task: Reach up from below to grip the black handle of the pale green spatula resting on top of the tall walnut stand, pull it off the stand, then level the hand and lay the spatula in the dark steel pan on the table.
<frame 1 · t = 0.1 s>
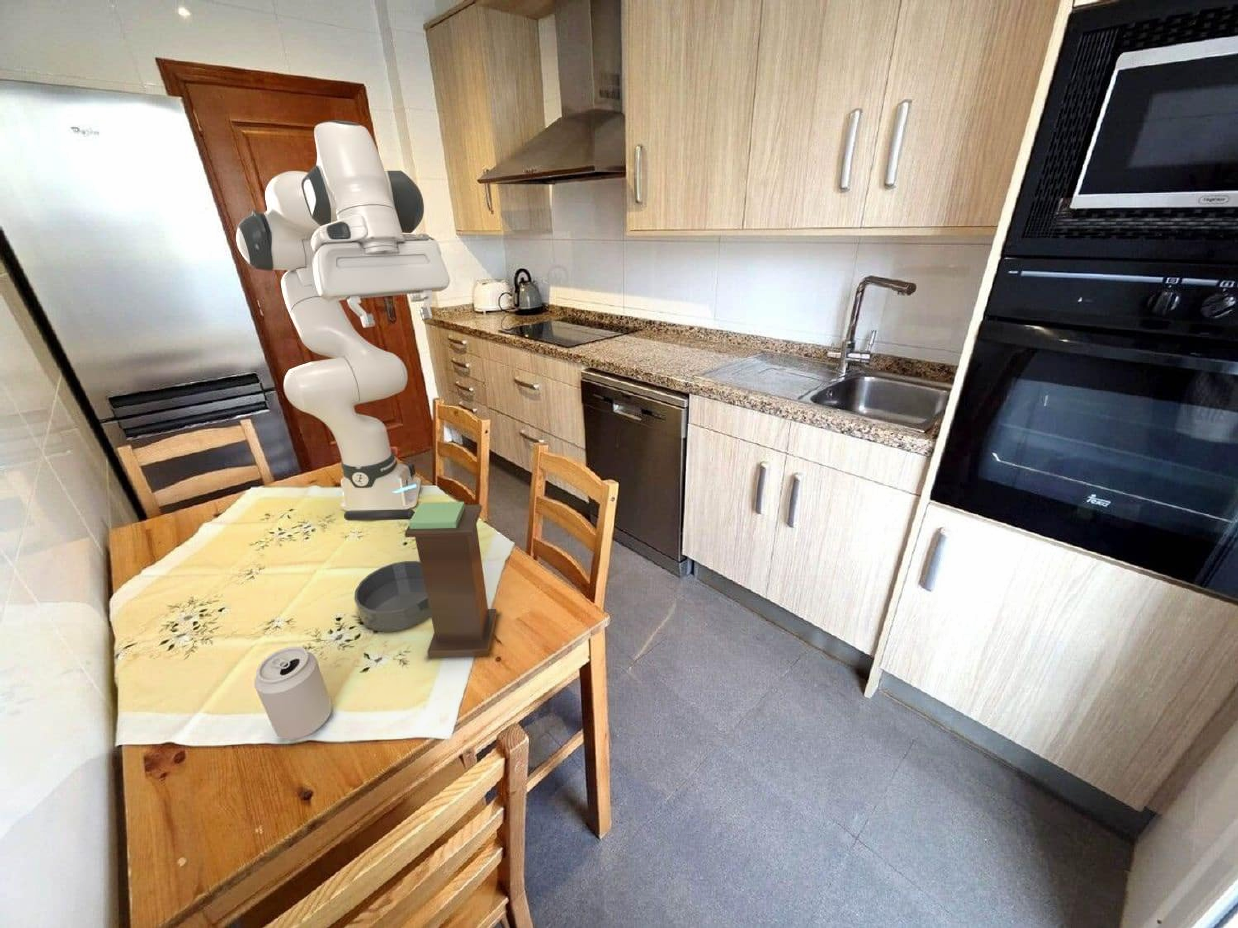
hand: (399, 323, 83), 52 cm above the table, tool tilted 20°, fingers open, 8 cm apart
pan: (402, 603, 98), on the table
stand: (464, 635, 90), on the table
can: (305, 720, 75), on the table
spatula: (415, 518, 79), point 25 cm above the table, touching stand
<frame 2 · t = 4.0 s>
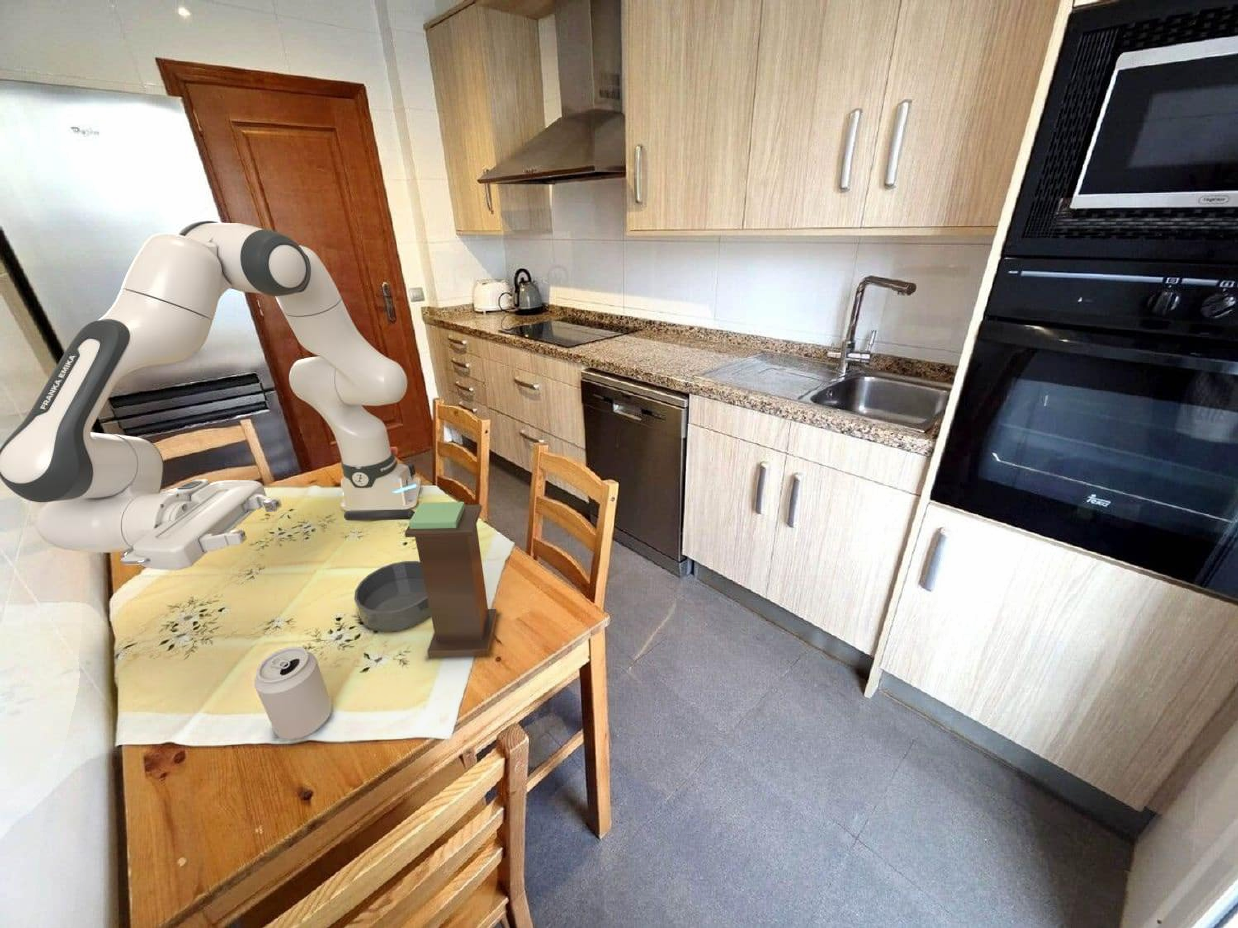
hand: (261, 520, 78), 25 cm above the table, tool horizontal, fingers open, 8 cm apart
nothing on the table moved.
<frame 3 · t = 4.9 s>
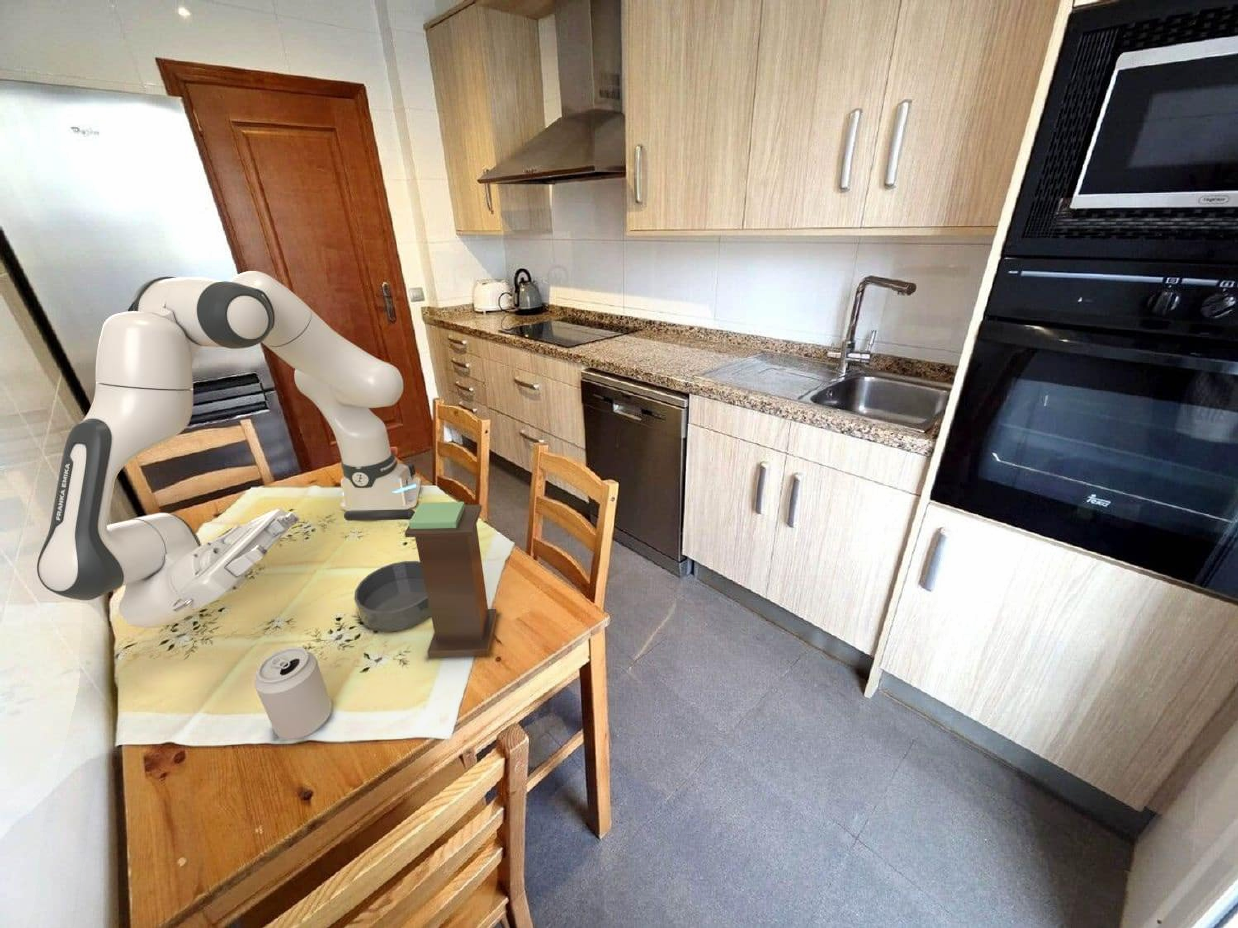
hand: (279, 533, 79), 23 cm above the table, tool pointing upward, fingers open, 8 cm apart
nothing on the table moved.
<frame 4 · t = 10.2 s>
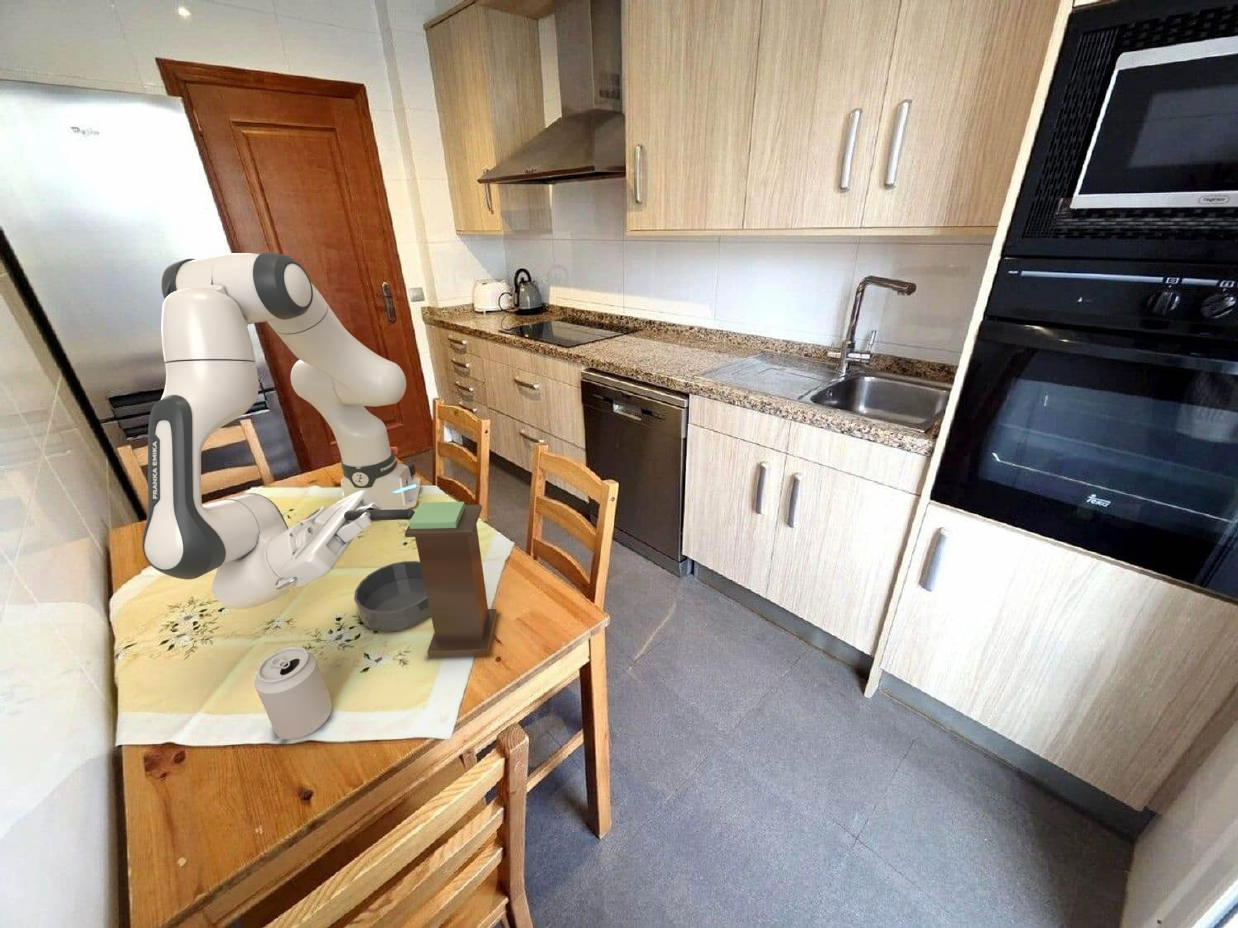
hand: (373, 512, 78), 26 cm above the table, tool pointing upward, fingers closed on spatula, 1 cm apart
spatula: (415, 518, 79), point 25 cm above the table, touching gripper, stand
everything else where it was.
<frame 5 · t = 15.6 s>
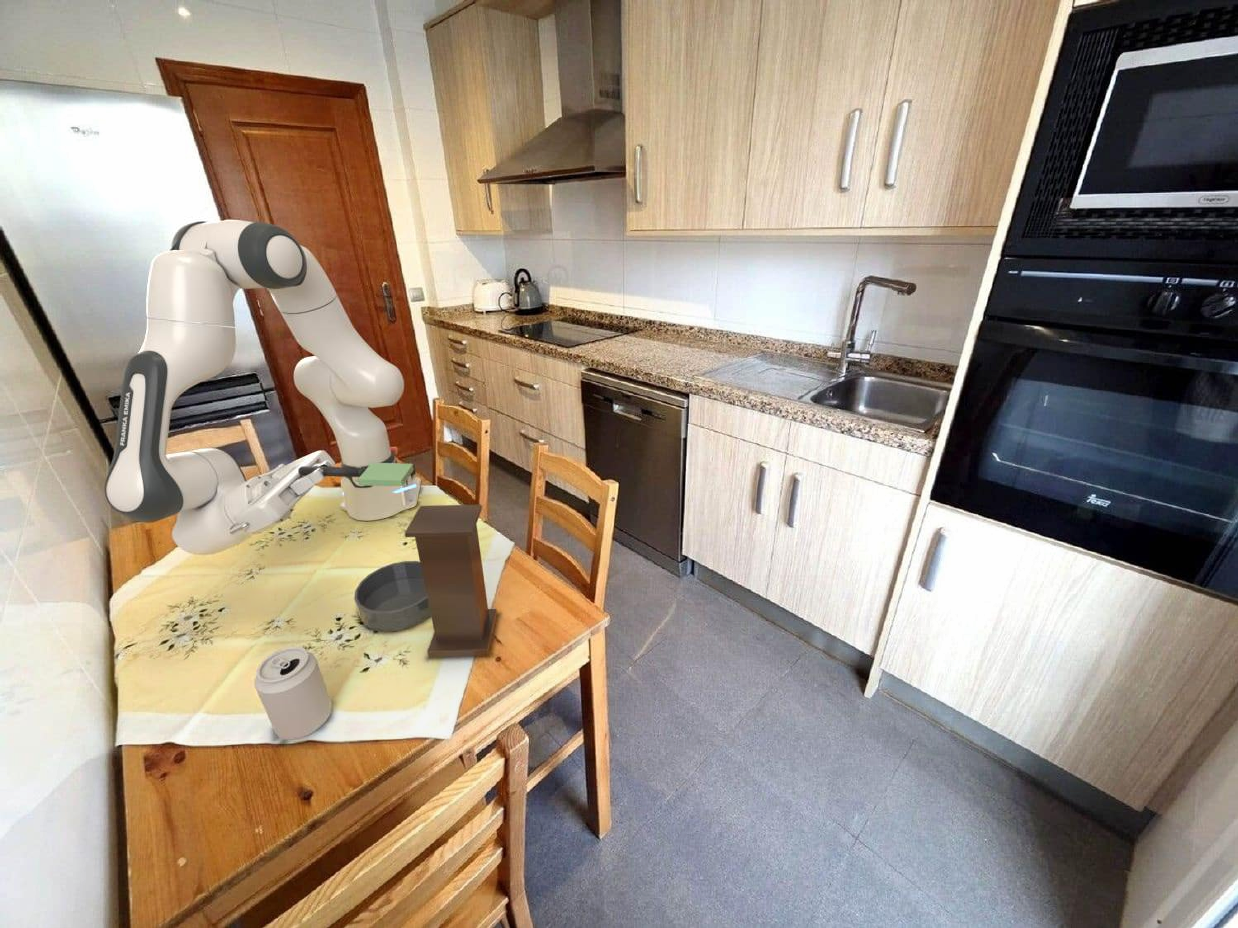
hand: (326, 469, 84), 29 cm above the table, tool pointing upward, fingers closed on spatula
spatula: (366, 476, 85), point 28 cm above the table, touching gripper
everything else where it was.
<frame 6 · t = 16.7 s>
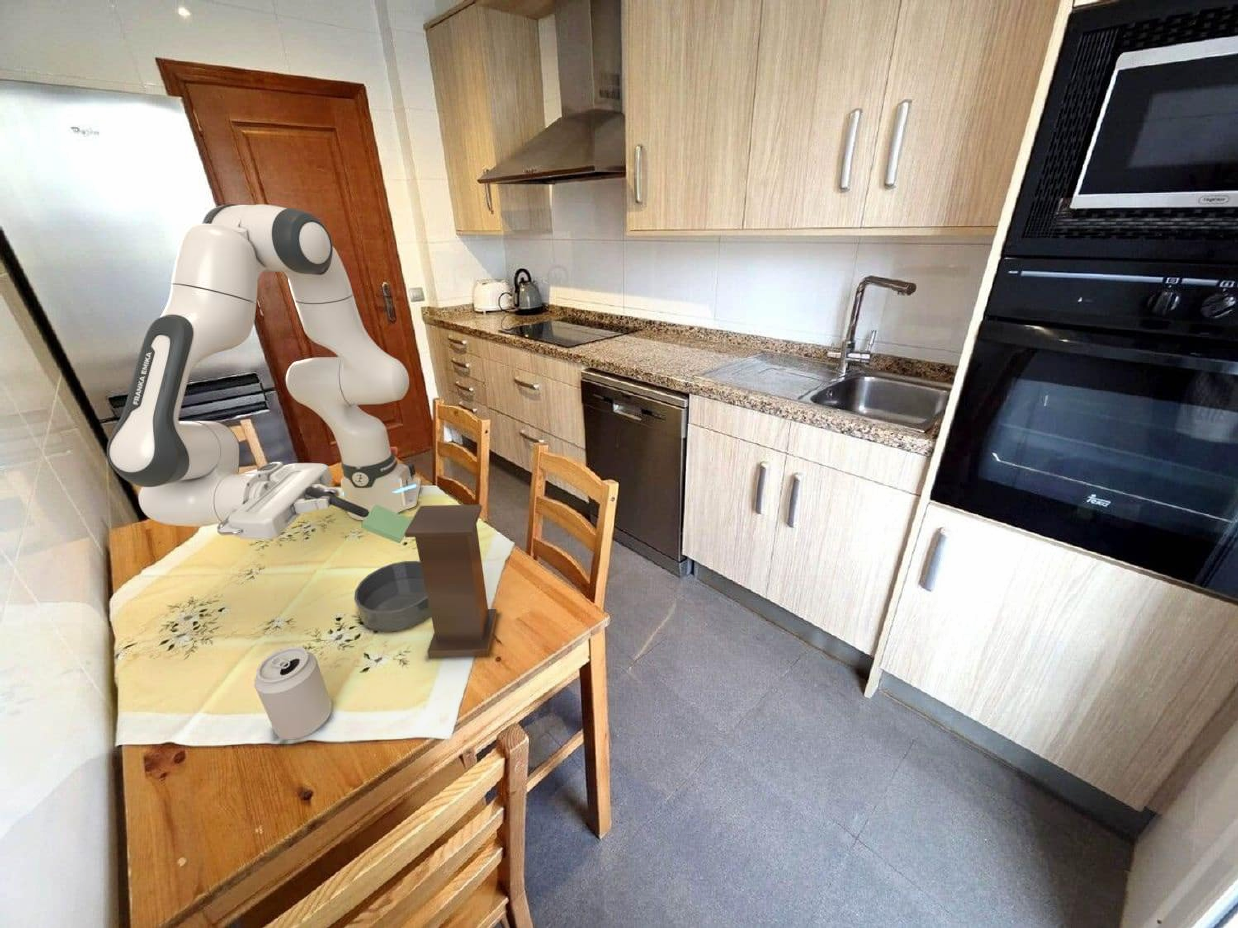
hand: (333, 497, 87), 24 cm above the table, tool horizontal, fingers closed on spatula, 1 cm apart
spatula: (367, 518, 89), point 20 cm above the table, tilted 30°, touching gripper
everything else where it was.
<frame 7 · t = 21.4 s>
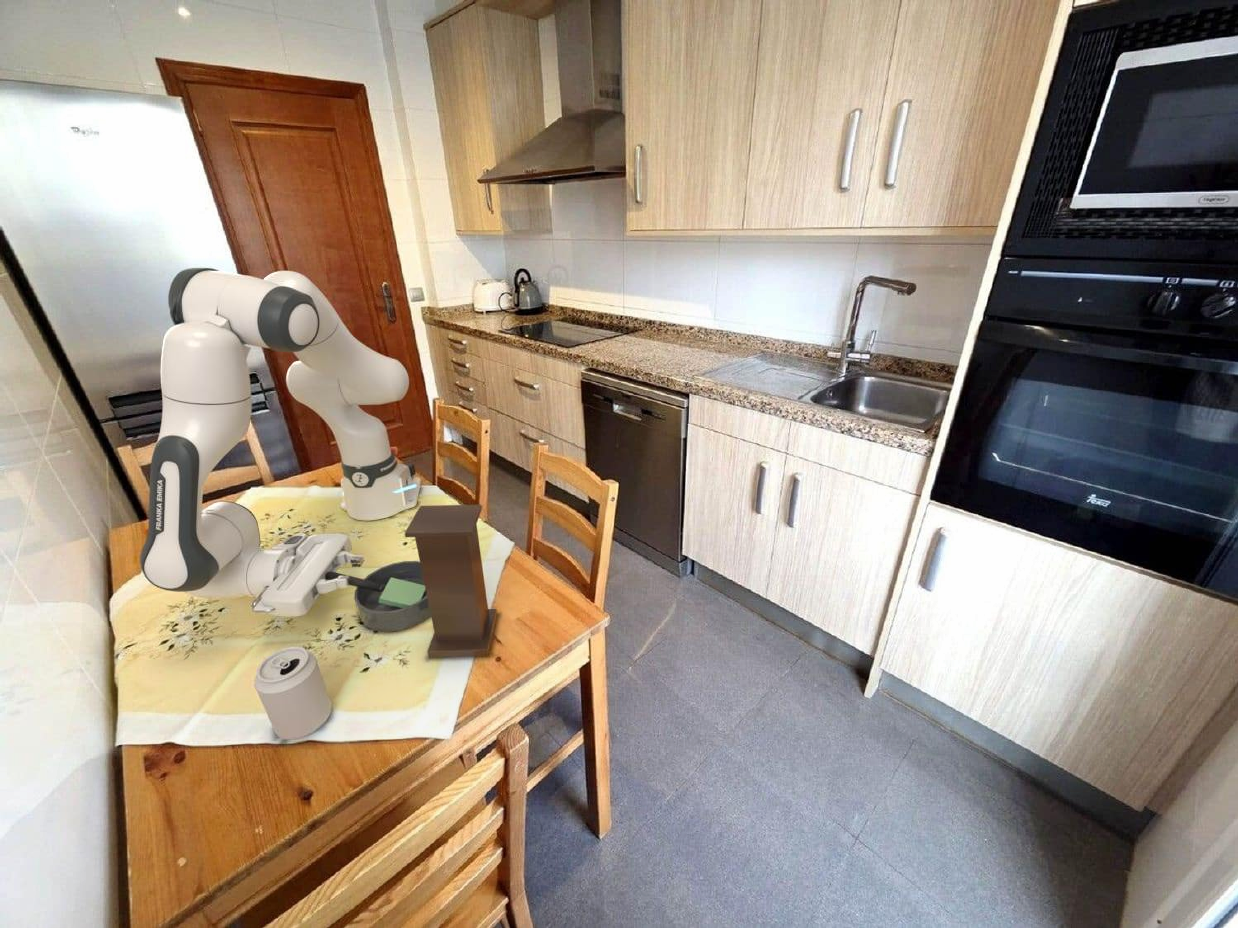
hand: (355, 570, 94), 8 cm above the table, tool horizontal, fingers open, 5 cm apart
spatula: (384, 591, 96), point 3 cm above the table, tilted 20°, touching pan
everything else where it was.
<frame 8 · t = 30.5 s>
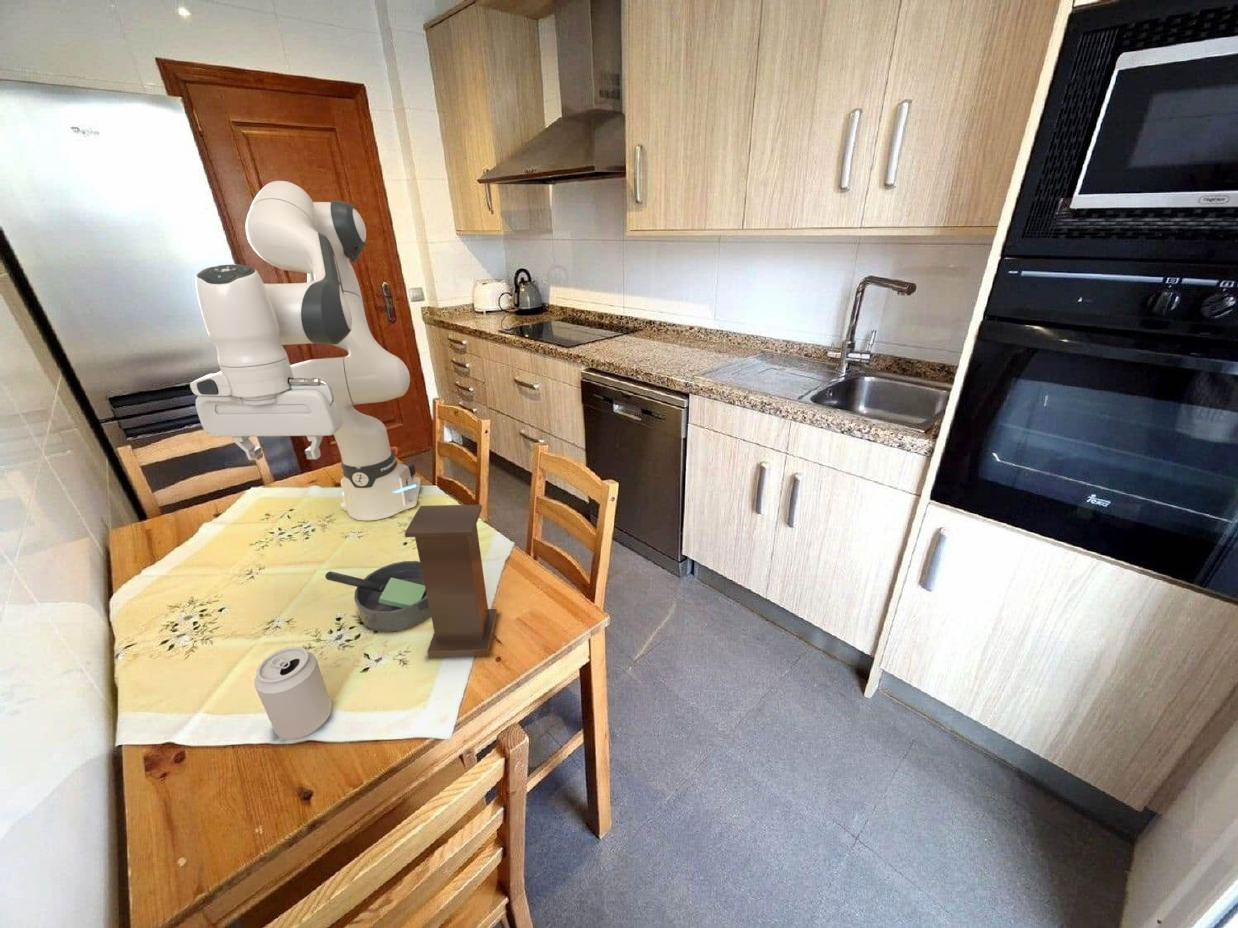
hand: (285, 458, 84), 31 cm above the table, tool pointing down, fingers open, 8 cm apart
nothing on the table moved.
at the end: spatula inside the target area in the pan (2.8 cm from its centre), point 3.0 cm above the pan's base; the gripper is holding nothing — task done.
